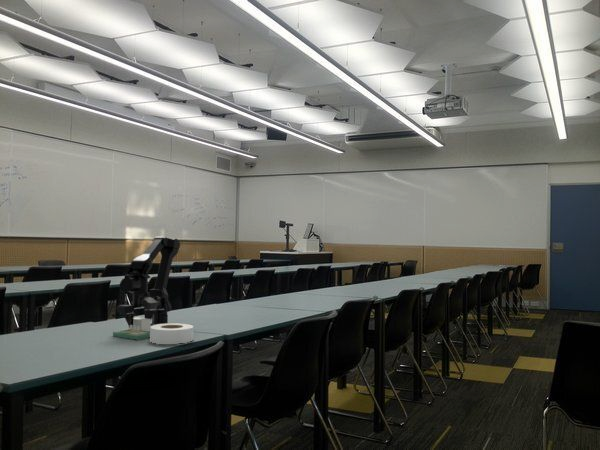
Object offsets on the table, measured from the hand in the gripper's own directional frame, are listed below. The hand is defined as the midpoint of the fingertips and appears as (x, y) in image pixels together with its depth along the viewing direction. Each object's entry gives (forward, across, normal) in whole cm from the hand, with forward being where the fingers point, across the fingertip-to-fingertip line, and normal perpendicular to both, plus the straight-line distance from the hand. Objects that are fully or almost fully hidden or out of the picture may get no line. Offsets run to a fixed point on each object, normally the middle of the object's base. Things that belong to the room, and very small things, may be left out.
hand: (139, 328), depth 216 cm
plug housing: (+1, 0, 0) cm, 1 cm away
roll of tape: (+2, -6, -26) cm, 27 cm away
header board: (+1, -9, -8) cm, 12 cm away
